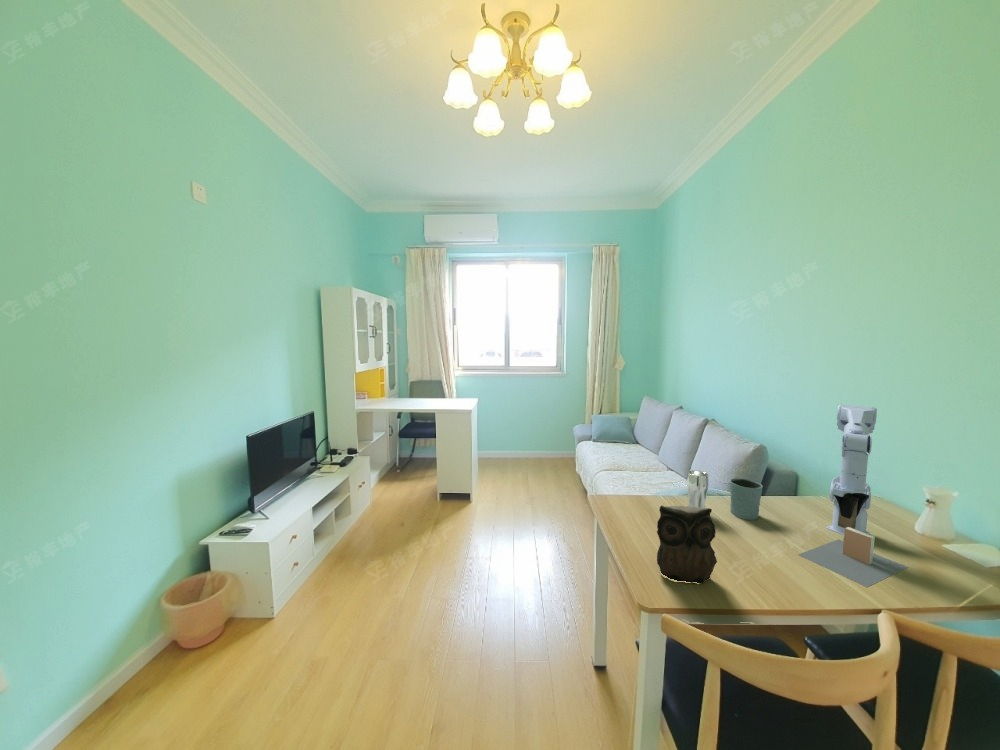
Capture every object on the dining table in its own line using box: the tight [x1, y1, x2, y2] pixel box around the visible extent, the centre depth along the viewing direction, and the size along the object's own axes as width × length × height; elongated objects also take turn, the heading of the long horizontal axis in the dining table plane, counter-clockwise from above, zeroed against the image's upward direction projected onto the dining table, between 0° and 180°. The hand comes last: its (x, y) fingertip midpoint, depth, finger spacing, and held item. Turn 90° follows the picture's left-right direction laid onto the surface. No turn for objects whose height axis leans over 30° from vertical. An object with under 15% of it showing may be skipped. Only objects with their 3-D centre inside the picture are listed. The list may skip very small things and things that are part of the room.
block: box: [838, 501, 858, 529], centre depth 114 cm, size 3×3×9 cm
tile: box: [842, 527, 876, 565], centre depth 109 cm, size 2×6×8 cm, turn 23°
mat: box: [797, 538, 909, 588], centre depth 108 cm, size 22×16×1 cm
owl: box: [656, 504, 718, 584], centre depth 101 cm, size 13×13×20 cm
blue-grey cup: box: [729, 477, 764, 521], centre depth 137 cm, size 10×10×12 cm
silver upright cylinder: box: [686, 469, 710, 508], centre depth 138 cm, size 7×7×15 cm
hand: (849, 516), depth 114 cm, fingers closed on block, 3 cm apart
